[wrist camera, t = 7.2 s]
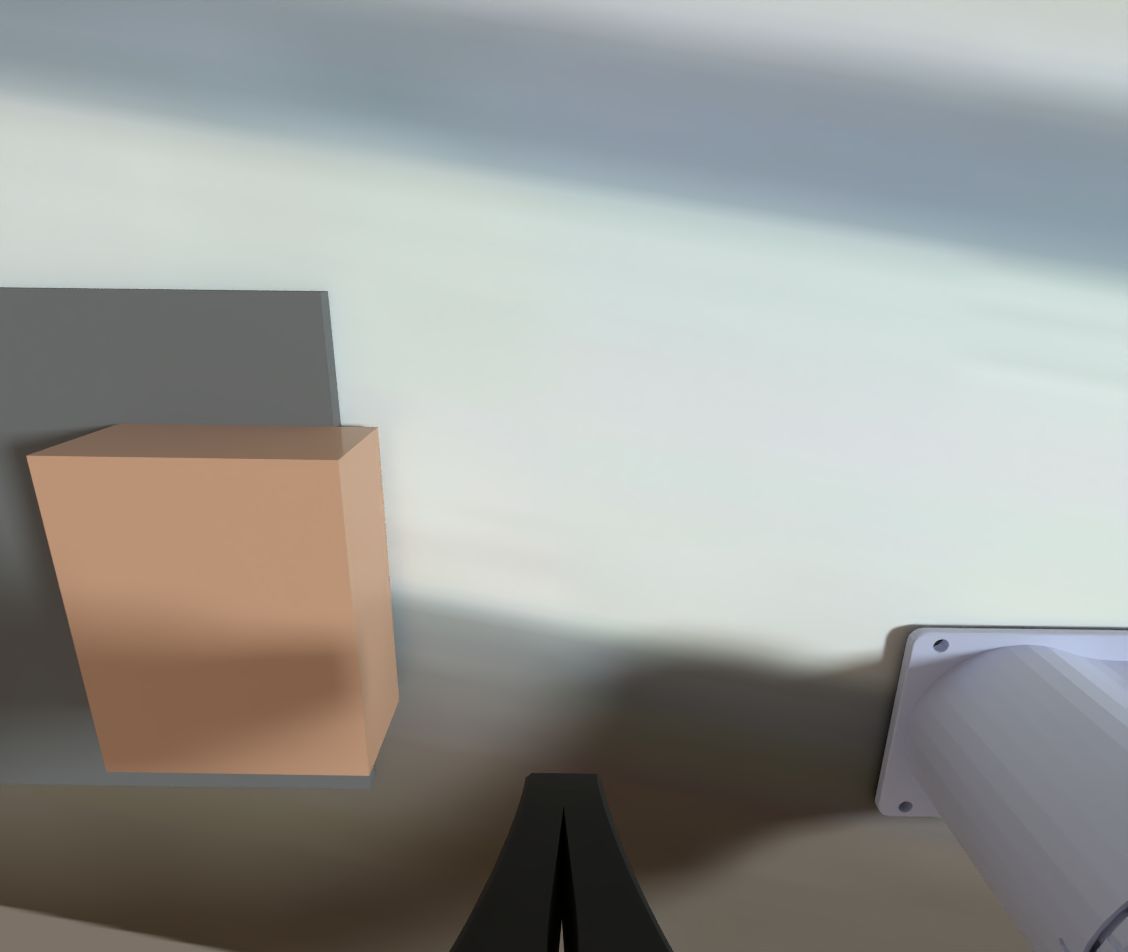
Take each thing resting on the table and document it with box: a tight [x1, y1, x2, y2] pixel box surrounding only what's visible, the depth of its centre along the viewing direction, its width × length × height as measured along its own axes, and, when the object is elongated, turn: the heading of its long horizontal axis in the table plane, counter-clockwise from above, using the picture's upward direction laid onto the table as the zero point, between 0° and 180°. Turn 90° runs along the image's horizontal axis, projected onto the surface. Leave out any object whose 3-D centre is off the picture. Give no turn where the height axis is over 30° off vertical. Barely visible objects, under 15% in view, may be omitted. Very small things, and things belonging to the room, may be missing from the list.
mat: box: [0, 287, 375, 789], centre depth 21 cm, size 16×18×2 cm
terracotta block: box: [26, 423, 399, 776], centre depth 20 cm, size 4×10×8 cm
